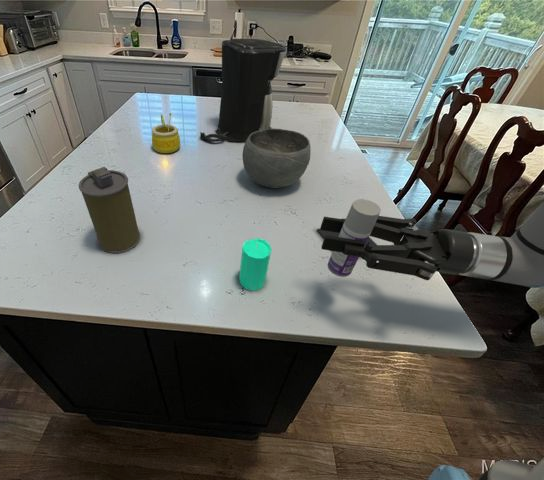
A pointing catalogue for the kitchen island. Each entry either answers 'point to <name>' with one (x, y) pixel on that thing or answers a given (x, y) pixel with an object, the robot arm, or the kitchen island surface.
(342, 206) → the kitchen island surface
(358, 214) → the container
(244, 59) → the coffee maker
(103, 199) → the canister
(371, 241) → the mat
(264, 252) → the candle
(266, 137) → the bowl
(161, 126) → the mug
